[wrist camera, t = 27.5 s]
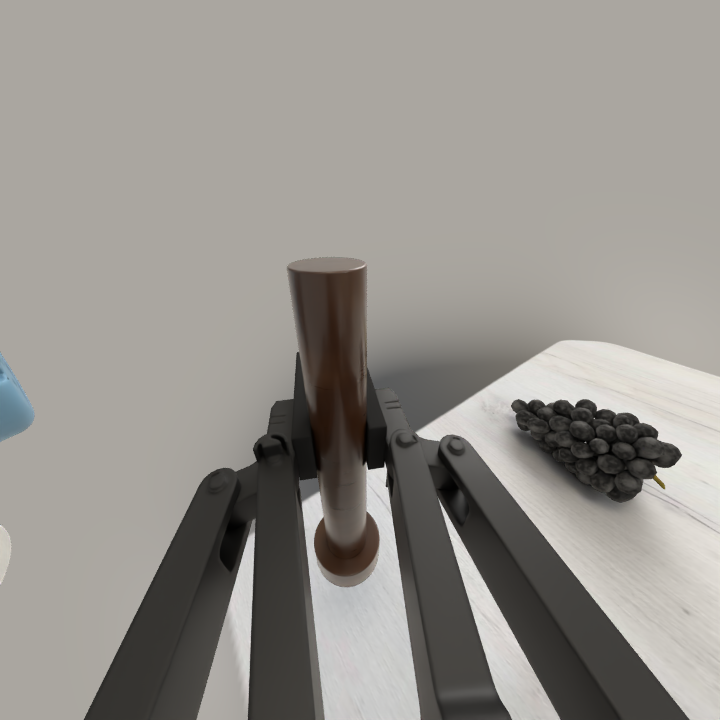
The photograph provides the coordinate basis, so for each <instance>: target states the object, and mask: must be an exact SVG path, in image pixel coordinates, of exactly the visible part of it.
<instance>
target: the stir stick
mask: <svg viewBox="0 0 720 720" xmlns="http://www.w3.org/2000/svg"><path fill="white" fill-rule="evenodd" d="M287 273H288V279H289V286H290V293H291V300H292V307H293V312H294V319H295V327H296V333H297V339H298V347H299V354H300V360H301V367H302V374H303V381H304V387H305V394H306V401H307V408H308V414H309V421H310V425H311V432H312V439H313V445H314V452H315V459H316V466H317V475H318V482H319V488H320V495H321V502H322V509H323V515H324V517H323V518H322V520H321V521H320V523H319V525H318V527H317V529H316V533H315V538H314V548H315V553H316V558H317V563H318V566H319V569H320V571H321V573H322V574H323V576H324V577H325V578H326V579H327V580H328V581H329V582H331V583H333V584H334V585H337V586H340V587H353V586H356V585H358V584H360V583H362V582H363V581H365V580H366V579H367V578H368V577H369V576H370V575H371V573H372V572H373V570H374V568H375V566H376V564H377V560H378V556H379V531H378V527H377V525H376V522H375V521H374V519H373V518H372V516H371V515H370V514H369V513H368V512H367V511H366V419H367V264H366V263H365V262H364V261H362V260H358V259H353V258H343V257H322V258H311V259H304V260H299V261H295V262H292V263H290V264H289V265H288V266H287Z"/></svg>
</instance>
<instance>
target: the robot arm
mask: <svg viewBox="0 0 720 720" xmlns="http://www.w3.org/2000/svg"><path fill="white" fill-rule="evenodd" d="M33 420H34V410H33V408H32V406H31V403H30V401H29V400H28V398H27V396H26V394H25V392H24V391H23V389H22V387H21V385H20V383H19V382H18V380H17V378H16V377H15V375H14V374H13V372H12V370H11V368H10V367H9V365H8V364H7V362H6V361H5V359H4V357H3V356H2V354H1V353H0V442H1V441H3V440H5V439H7V438H9V437H12V436H14V435H16V434H19V433H21V432H22V431H24V430H26V429H27V428H28V427H29V426H30V425H31V424H32V422H33ZM253 451H254V454H255V457H256V460H257V461H256V462H255V463H254V464H252V465H250V466H249V467H246V468H244V469H241V470H239V471H237V472H235V471H234V470H232V469H230V468H222V469H217V470H216V471H214V472H211V473H210V474H209V475H208V476H206V477H205V478H204V480H203V481H202V482H201V484H200V485H199V487H198V489H197V491H196V494H195V495H194V498H193V500H192V502H191V504H190V506H189V508H188V510H187V512H186V514H185V516H184V518H183V520H182V522H181V524H180V526H179V528H178V530H177V532H176V534H175V536H174V538H173V540H172V542H171V544H170V546H169V548H168V550H167V552H166V554H165V556H164V559H163V560H162V562H161V564H160V566H159V568H158V570H157V572H156V574H155V577H154V578H153V581H152V582H151V585H150V587H149V589H148V591H147V593H146V595H145V597H144V599H143V601H142V603H141V605H140V607H139V609H138V611H137V613H136V615H135V617H134V619H133V621H132V623H131V625H130V627H129V629H128V631H127V633H126V635H125V637H124V639H123V641H122V643H121V645H120V647H119V649H118V652H117V653H116V655H115V657H114V659H113V662H112V664H111V666H110V668H109V670H108V672H107V674H106V676H105V678H104V680H103V682H102V684H101V686H100V688H99V690H98V692H97V694H96V696H95V698H94V700H93V702H92V704H91V706H90V708H89V710H88V712H87V714H86V716H85V718H84V720H196V719H197V715H198V712H199V708H200V705H201V701H202V698H203V694H204V691H205V687H206V683H207V680H208V676H209V673H210V669H211V666H212V662H213V659H214V655H215V651H216V648H217V644H218V641H219V637H220V634H221V630H222V627H223V623H224V619H225V616H226V612H227V609H228V605H229V602H230V598H231V595H232V591H233V587H234V584H235V580H236V577H237V573H238V570H239V566H240V563H241V559H242V555H243V552H244V548H245V545H246V541H247V538H248V534H249V531H250V527H251V523H252V520H253V519H255V518H256V523H255V548H254V574H253V600H252V626H251V652H250V678H249V704H248V720H325V718H324V709H323V700H322V690H321V681H320V671H319V662H318V653H317V643H316V634H315V624H314V615H313V605H312V596H311V587H310V577H309V568H308V558H307V549H306V540H305V530H304V521H303V511H302V502H301V493H300V488H299V477H300V480H306V479H312V478H317V466H316V459H315V452H314V445H313V439H312V432H311V425H310V421H309V414H308V408H307V401H306V394H305V387H304V381H303V374H302V367H301V360H300V354H299V352H297V357H296V373H295V388H294V399H291V400H283V401H276V403H275V404H274V405H273V407H272V408H271V413H270V419H269V425H268V431H267V434H266V435H264V436H262V437H261V438H259V439H258V441H257V442H256V443H255V445H254V448H253ZM366 462H367V466H368V470H370V469H376V468H383V467H384V463H385V464H386V467H387V479H386V487H388V490H389V497H390V504H391V511H392V518H393V525H394V531H395V538H396V545H397V552H398V559H399V566H400V573H401V580H402V587H403V594H404V601H405V608H406V615H407V621H408V628H409V635H410V642H411V649H412V656H413V663H414V670H415V677H416V684H417V691H418V698H419V705H420V715H421V720H512V719H511V716H510V714H509V712H508V711H507V709H506V708H505V706H504V705H503V703H502V701H501V700H500V698H499V696H498V693H497V691H496V688H495V686H494V683H493V680H492V676H491V673H490V670H489V666H488V663H487V660H486V656H485V653H484V650H483V646H482V643H481V640H480V636H479V633H478V630H477V626H476V623H475V620H474V616H473V613H472V610H471V606H470V603H469V600H468V596H467V593H466V590H465V586H464V583H463V580H462V576H461V573H460V570H459V566H458V563H457V560H456V557H455V553H454V550H453V547H452V543H451V540H450V537H449V533H448V530H447V527H446V523H445V520H444V517H443V513H442V510H441V507H440V503H439V500H440V502H441V504H442V505H443V507H444V509H445V511H446V513H447V515H448V516H449V518H450V520H451V522H452V524H453V525H454V527H455V529H456V531H457V533H458V534H459V536H460V538H461V540H462V542H463V543H464V545H465V547H466V549H467V551H468V553H469V554H470V556H471V558H472V560H473V562H474V563H475V565H476V567H477V569H478V571H479V572H480V574H481V576H482V578H483V580H484V581H485V583H486V585H487V587H488V589H489V591H490V592H491V594H492V596H493V598H494V600H495V601H496V603H497V605H498V607H499V609H500V610H501V612H502V614H503V616H504V618H505V619H506V621H507V623H508V625H509V627H510V628H511V630H512V632H513V634H514V636H515V638H516V639H517V641H518V643H519V645H520V647H521V648H522V650H523V652H524V654H525V656H526V657H527V659H528V661H529V663H530V665H531V666H532V668H533V670H534V672H535V674H536V676H537V677H538V679H539V681H540V683H541V685H542V686H543V688H544V690H545V692H546V694H547V695H548V697H549V699H550V701H551V703H552V704H553V706H554V708H555V710H556V712H557V714H558V715H559V717H560V719H561V720H689V718H688V717H687V716H686V715H685V713H684V712H683V711H682V710H681V708H680V707H679V706H678V705H677V703H676V702H675V701H674V700H673V698H672V697H671V696H670V695H669V693H668V692H667V691H666V690H665V688H664V687H663V686H662V684H661V683H660V682H659V681H658V679H657V678H656V677H655V676H654V674H653V673H652V672H651V671H650V669H649V668H648V667H647V666H646V664H645V663H644V662H643V661H642V659H641V658H640V657H639V656H638V654H637V653H636V652H635V651H634V649H633V648H632V647H631V646H630V644H629V643H628V642H627V640H626V639H625V638H624V637H623V635H622V634H621V633H620V632H619V630H618V629H617V628H616V627H615V625H614V624H613V623H612V622H611V620H610V619H609V618H608V617H607V615H606V614H605V613H604V612H603V610H602V609H601V608H600V607H599V605H598V604H597V603H596V602H595V600H594V599H593V598H592V597H591V595H590V594H589V593H588V591H587V590H586V589H585V588H584V586H583V585H582V584H581V583H580V581H579V580H578V579H577V578H576V576H575V575H574V574H573V573H572V571H571V570H570V569H569V568H568V566H567V565H566V564H565V563H564V561H563V560H562V559H561V558H560V556H559V555H558V554H557V553H556V551H555V550H554V549H553V547H552V546H551V545H550V544H549V542H548V541H547V540H546V539H545V537H544V536H543V535H542V534H541V532H540V531H539V530H538V529H537V527H536V526H535V525H534V524H533V522H532V521H531V520H530V519H529V517H528V516H527V515H526V514H525V512H524V511H523V510H522V509H521V507H520V506H519V505H518V503H517V502H516V501H515V500H514V498H513V497H512V496H511V495H510V493H509V492H508V491H507V490H506V488H505V487H504V486H503V485H502V483H501V482H500V481H499V480H498V478H497V477H496V476H495V475H494V473H493V472H492V471H491V470H490V468H489V467H488V466H487V465H486V463H485V462H484V461H483V459H482V458H481V457H480V456H479V454H478V453H477V452H476V451H475V449H474V448H473V447H472V446H471V444H470V443H469V442H468V441H467V440H465V439H464V438H462V437H460V436H456V435H447V436H445V437H443V438H442V439H441V441H432V440H427V439H423V438H421V437H419V436H418V435H417V434H416V433H415V432H414V431H412V430H411V428H410V425H409V423H408V421H407V419H406V416H405V414H404V412H403V410H402V408H401V405H400V402H399V400H398V398H397V395H396V393H395V392H393V391H392V390H391V389H390V388H383V389H374V386H373V383H372V380H371V377H370V374H369V371H368V368H367V419H366ZM437 496H438V497H437ZM438 498H439V500H438Z"/></svg>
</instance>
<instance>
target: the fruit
mask: <svg viewBox="0 0 720 720" xmlns="http://www.w3.org/2000/svg"><path fill="white" fill-rule="evenodd" d="M511 407H512V409H513V411H515V412H516V413H517V414H516V421H517V424H518V427H519V428H520V429H521V430H524V431H529V430H531V435H532V437H533V438H534V439H536V440H542V441H540V443H539V446H540V448H541V450H543V451H544V452H547V453H549V452H553V457H554V459H555V460H557V461H559V462H565V466H566V469H567V470H568V471H569V472H571V473H574V474H575V473H576V476H577V478H578V479H579V480H580V482H582V483H584V484H586V485H588V484H591V485H592V486H593V488H594V489H595V490H597V491H599V492H605V493H606V494H607V496H608V497H610V498H611V499H612V500H614V501H617V502H620V503H622V502H625V501H628V500H631V499H633V498H634V497H635V496H636V495H637V493H639V492H641V489H642V485H643V479H652V478H653V479H654V480H655V481H656V482H657V483H658V484H659V485H660V486H661V487H662V488H663V489H665V485H664V483H663V482H662V481H661V480H660V479H659V478H658V477H657V476H656V473H657V471H656V468H655V466H654V465H656V466H658V467H662V468H669V467H671V466H673V465H675V464H676V462H677V461H678V460H679V459H680V457H681V456H682V454H681V453H680V451H679V449H678V448H677V447H675V446H674V445H673V444H669V443H665V442H661V441H659V440H657V437H658V431H657V430H656V429H655V428H653V427H652V426H651V425H648V424H645V423H639V420H638V418H637V417H636V416H634V415H632V414H631V413H618V414H617V415H616V413H614V412H612V411H611V410H606V409H602V410H599V411H597V407H596V405H595V403H593V402H592V401H590V400H587V399H583V400H580V401H578V402H577V404H576V405H575V407H574V406H572V405H571V404H570V403H569V402H568V401H566V400H558V401H556V402H555V403H549V404H548V405H547V406H545V404H544V403H543V402H542V401H540V400H532V401H530V402H529V403H528V404H527V403H526V402H524V401H522V400H519V399H518V400H515V401H514V402H513V403H512V405H511ZM594 418H595V419H594ZM584 442H586V443H587V444H586V443H584ZM557 448H558V449H557Z"/></svg>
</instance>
